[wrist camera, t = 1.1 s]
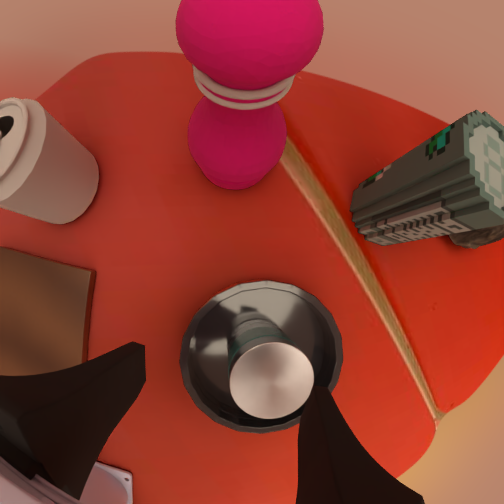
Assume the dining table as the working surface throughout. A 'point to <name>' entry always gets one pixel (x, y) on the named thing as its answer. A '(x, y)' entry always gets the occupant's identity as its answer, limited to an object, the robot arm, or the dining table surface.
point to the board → (42, 313)
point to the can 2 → (437, 186)
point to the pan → (245, 313)
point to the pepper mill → (244, 80)
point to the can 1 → (42, 165)
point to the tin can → (268, 372)
